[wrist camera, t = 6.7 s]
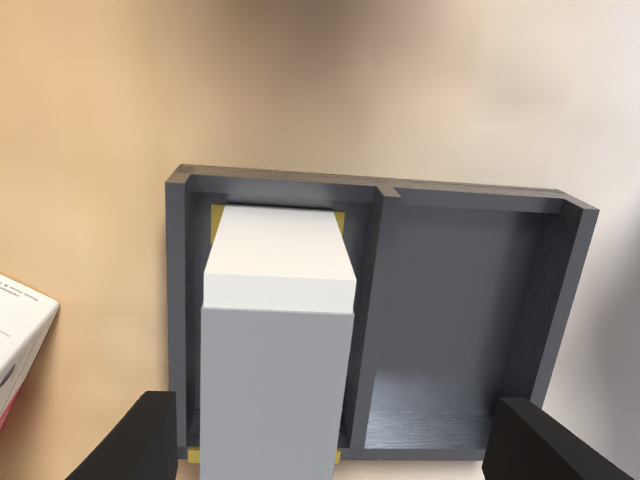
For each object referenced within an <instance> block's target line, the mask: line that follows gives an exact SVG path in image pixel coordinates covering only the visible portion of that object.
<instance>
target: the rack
mask: <svg viewBox="0 0 640 480" xmlns="http://www.w3.org/2000/svg"><path fill="white" fill-rule="evenodd" d="M165 201H166V249H167V298H168V347H169V391H175V392H176V415H177V455H178V459H188V463H200V380H201V307H202V304H203V300H204V271H205V268H206V265H207V261H208V258H209V255H210V252H211V249H212V246H213V243H214V239H215V236H216V233H217V230H218V227H219V224H220V220H221V217H222V214H223V211H224V208H225V205H226V204H239V205H255V206H271V207H286V208H302V209H318V210H333V212H334V215H335V218H336V221H337V224H338V227H339V230H340V233H341V236H342V239H343V242H344V245H345V248H346V251H347V254H348V256H349V259H350V262H351V265H352V268H353V271H354V274H355V277H356V280H357V281H356V289H355V296H354V304H353V311H354V315H355V316H354V323H353V331H352V338H351V346H350V353H349V361H348V368H347V376H346V383H345V390H344V398H343V405H342V413H341V420H340V428H339V435H338V443H337V450H336V458H335V464H339V461H340V460H480V461H483V460H484V456H485V452H486V448H487V444H488V439H489V435H490V431H491V427H492V423H493V419H494V415H495V411H496V407H497V403H498V399H499V397H511V398H526V399H527V400H529V401H530V402H532V403H533V404H534V405H536V406H537V407H539V408H540V409H542V406H543V402H544V399H545V396H546V392H547V389H548V385H549V382H550V378H551V375H552V372H553V368H554V365H555V361H556V358H557V355H558V351H559V348H560V344H561V341H562V337H563V334H564V331H565V327H566V324H567V320H568V317H569V314H570V310H571V307H572V303H573V300H574V297H575V293H576V290H577V286H578V283H579V279H580V276H581V273H582V269H583V266H584V262H585V259H586V256H587V252H588V249H589V245H590V242H591V238H592V235H593V232H594V228H595V225H596V221H597V218H598V215H599V211H600V210H599V209H597V208H595V207H593V206H591V205H589V204H587V203H585V202H583V201H581V200H579V199H577V198H575V197H572V196H570V195H568V194H566V193H564V192H562V191H560V190H557V189H542V188H527V187H512V186H497V185H483V184H468V183H453V182H438V181H423V180H409V179H394V178H379V177H364V176H349V175H335V174H320V173H305V172H290V171H275V170H261V169H246V168H231V167H216V166H201V165H186V164H180V165H179V167H178V168H177V169H176V170H175V171H174V172H173V174H172V175H171V176H170V177H169V178H168V179H167V181H166V182H165Z"/></svg>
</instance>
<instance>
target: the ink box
mask: <svg viewBox="0 0 640 480" xmlns="http://www.w3.org/2000/svg"><path fill="white" fill-rule="evenodd" d="M59 306H60V305H59V303H58V302H57V301H55V300H53V299H51V298H49V297H47V296H45V295H43V294H41V293H39V292H37V291H34V290H33V289H31V288H29V287H27V286H24V285H22V284H20V283H18V282H16V281H14V280H11V279H9V278H7V277H5V276H3V275H0V430H1V428H2V426H3V424H4V422H5V419H6V417H7V415H8V413H9V411H10V409H11V407H12V405H13V402H14V400H15V398H16V396H17V394H18V392H19V390H20V388H21V386H22V384H23V382H24V380H25V378H26V376H27V374H28V372H29V369H30V367H31V365H32V363H33V361H34V359H35V357H36V355H37V353H38V351H39V349H40V347H41V345H42V342H43V340H44V338H45V336H46V334H47V332H48V330H49V328H50V326H51V324H52V321H53V319H54V317H55V315H56V313H57V311H58V309H59Z"/></svg>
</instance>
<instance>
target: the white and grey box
mask: <svg viewBox="0 0 640 480" xmlns="http://www.w3.org/2000/svg"><path fill="white" fill-rule="evenodd" d="M356 281H357V280H356V277H355V274H354V271H353V268H352V265H351V262H350V259H349V256H348V254H347V251H346V248H345V245H344V242H343V239H342V236H341V233H340V230H339V227H338V224H337V221H336V218H335V215H334V212H333V210H318V209H302V208H286V207H271V206H255V205H239V204H226V205H225V208H224V211H223V214H222V217H221V220H220V224H219V227H218V230H217V233H216V236H215V239H214V243H213V246H212V249H211V252H210V255H209V258H208V261H207V265H206V268H205V271H204V300H203V304H202V307H201V380H200V480H333V473H334V465H335V458H336V450H337V443H338V435H339V428H340V420H341V413H342V405H343V398H344V390H345V383H346V376H347V368H348V361H349V353H350V346H351V338H352V331H353V323H354V316H355V315H354V311H353V304H354V296H355V289H356Z"/></svg>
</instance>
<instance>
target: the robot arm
mask: <svg viewBox="0 0 640 480" xmlns="http://www.w3.org/2000/svg"><path fill="white" fill-rule="evenodd" d="M177 468H178V455H177V415H176V392H175V391H146V392H145V393H144V394H143V395H141V397H140V398H139V399H138V400H137V401H136V403H135V404H134V405H133V406H132V407H131V409H130V410H129V411H128V412H127V413H126V414H125V416H124V417H123V418H122V419H121V420H120V421H119V423H118V424H117V425H116V426H115V427H114V428H113V429H112V431H111V432H110V433H109V434H108V435H107V436H106V437H105V438H104V439H103V441H102V442H101V443H100V444H99V445H98V446H97V447H96V448H95V449H94V450H93V451H92V452H91V453H90V454H89V455H88V457H87V458H86V459H85V460H84V461H83V462H82V463H81V464H80V465H79V466H78V467H77V468H76V469H75V470H74V471H73V472H72V473H71V474H70V475H69V476H68V477H67V478H66V479H65V480H175V479H176V473H177ZM482 470H483V473H484V477H485V480H634V479H633V478H632V477H630V476H629V475H627V474H626V473H625V472H623V471H622V470H620V469H619V468H618V467H616V466H615V465H614V464H612V463H611V462H610V461H608V460H607V459H606V458H604V457H603V456H602V455H600V454H599V453H598V452H596V451H595V450H594V449H592V448H591V447H590V446H588V445H587V444H586V443H585V442H583V441H582V440H581V439H579V438H578V437H577V436H575V435H574V434H573V433H571V432H570V431H569V430H568V429H566V428H565V427H564V426H562V425H561V424H560V423H559V422H557V421H556V420H555V419H553V418H552V417H551V416H549V415H548V414H547V413H545V412H544V411H543V410H541V409H540V408H539V407H537V406H536V405H534V404H533V403H532V402H530V401H529V400H527V399H526V398H511V397H499V399H498V403H497V407H496V411H495V415H494V419H493V423H492V427H491V431H490V435H489V439H488V444H487V448H486V452H485V456H484V460H483V464H482Z"/></svg>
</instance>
